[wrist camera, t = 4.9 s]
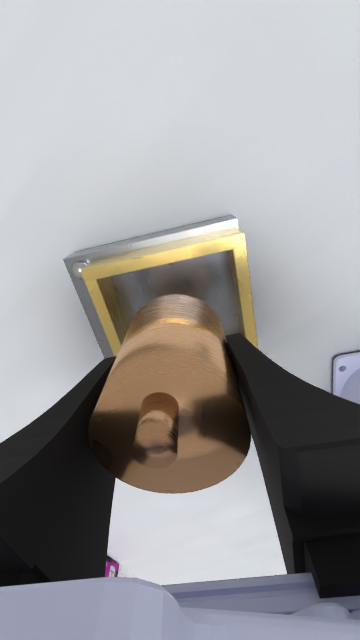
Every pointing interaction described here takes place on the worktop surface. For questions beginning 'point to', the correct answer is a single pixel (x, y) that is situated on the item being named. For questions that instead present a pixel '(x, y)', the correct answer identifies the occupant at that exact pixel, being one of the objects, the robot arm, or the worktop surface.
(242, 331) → the square open tray
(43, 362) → the worktop surface
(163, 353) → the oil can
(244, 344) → the robot arm
